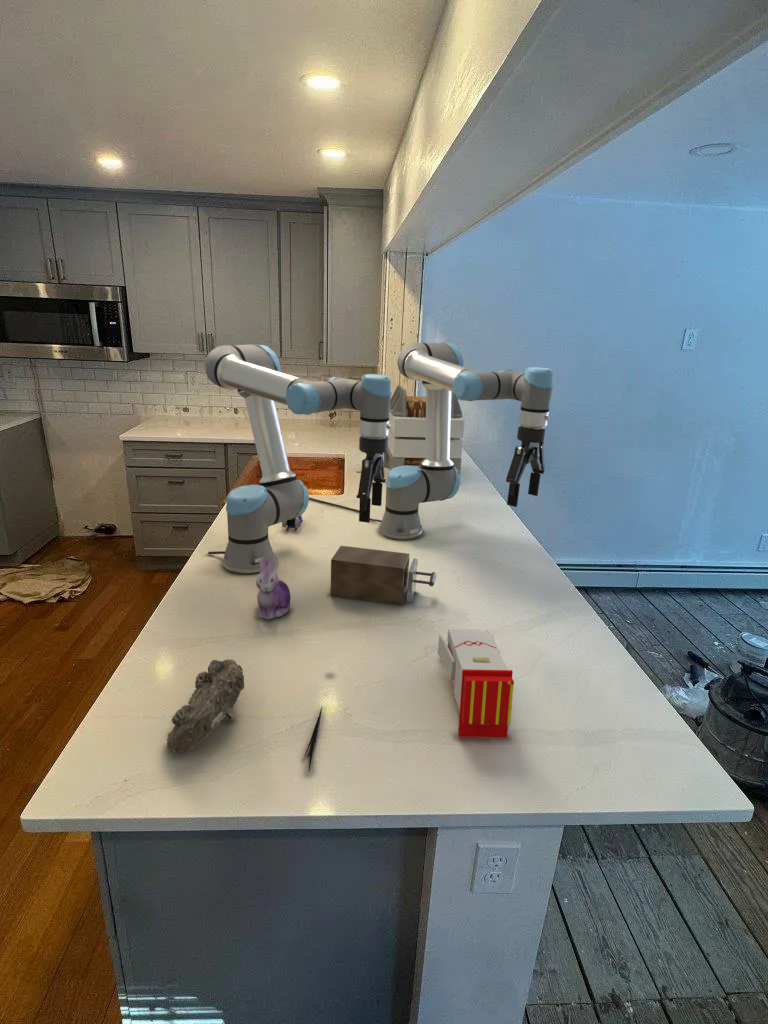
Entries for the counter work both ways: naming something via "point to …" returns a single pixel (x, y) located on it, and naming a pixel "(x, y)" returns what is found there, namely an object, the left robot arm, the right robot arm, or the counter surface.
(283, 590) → the figurine
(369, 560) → the cabinet
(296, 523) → the figurine character
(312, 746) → the feather
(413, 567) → the drawer
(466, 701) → the toy
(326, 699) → the counter surface
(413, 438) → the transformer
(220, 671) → the fossil
